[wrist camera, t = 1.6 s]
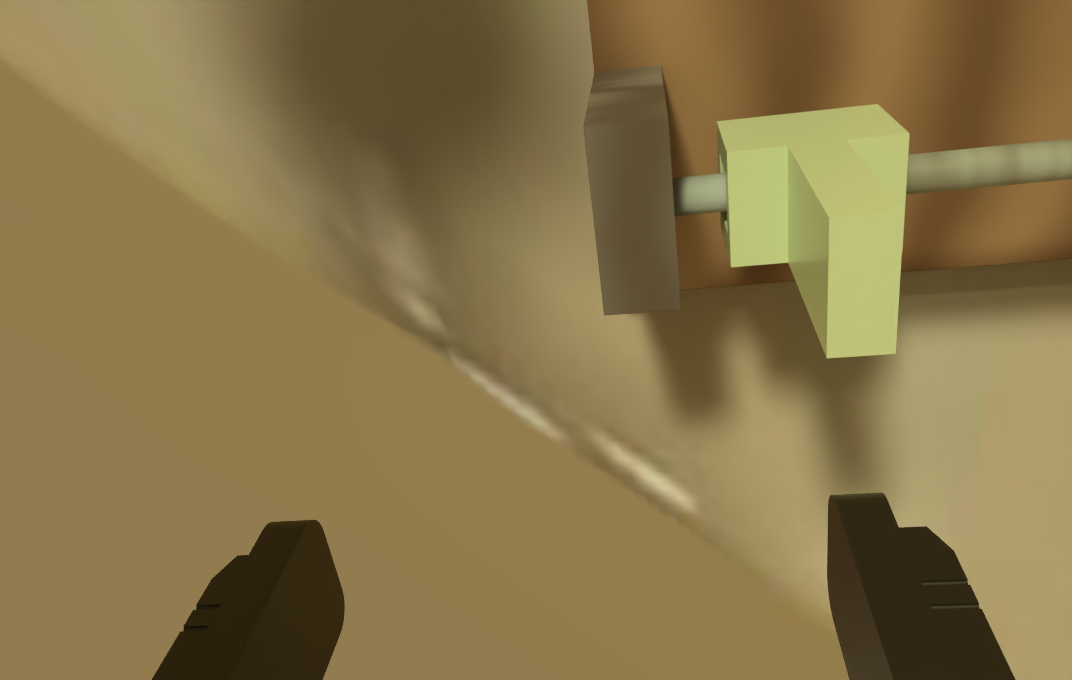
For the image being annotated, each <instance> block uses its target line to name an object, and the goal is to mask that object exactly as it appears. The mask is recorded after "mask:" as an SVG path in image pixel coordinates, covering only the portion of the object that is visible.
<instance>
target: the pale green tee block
mask: <svg viewBox="0 0 1072 680" xmlns="http://www.w3.org/2000/svg"><path fill="white" fill-rule="evenodd" d="M716 122H717V147H718V172H719V173H725V176H726V203H727V211H725V212H720V222H721V230H722V234H723V238H724V242H725V246H726V250H727V254H728V258H729V262H730V266H731V267H741V266H753V265H765V264H777V263H788V264H789V266H790V268H791V271H792V273H793V276H794V278H795V281H796V283H797V286H798V288H799V291H800V293H801V296H802V298H803V301H804V303H805V306H806V308H807V311H808V313H809V316H810V318H811V321H812V323H813V326H814V328H815V331H816V333H817V336H818V338H819V341H820V343H821V346H822V348H823V351H824V353H825V356H826V358H840V357H855V356H870V355H885V354H896V340H897V323H898V307H899V290H900V274H901V257H902V250H903V233H904V217H905V200H906V184H907V167H908V151H909V135H910V133H909V132H908V131H906V130H905V129H904V128H903V127H902V126H901V125H900V124H899V123H898V122H897V121H896V120H895V119H894V118H892V117H891V116H890V115H889V114H888V113H887V112H886V111H885V110H884V109H883V108H882V107H881V106H879V105H878V104H873V105H864V106H854V107H845V108H836V109H827V110H817V111H808V112H799V113H790V114H780V115H771V116H762V117H753V118H743V119H734V120H725V121H716Z"/></svg>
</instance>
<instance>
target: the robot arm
mask: <svg viewBox="0 0 1072 680" xmlns="http://www.w3.org/2000/svg"><path fill="white" fill-rule="evenodd" d="M827 580H828V592H829V600H830V607H831V612H832V617H833V621H834V624H835V628H836V632H837V635H838V639H839V643H840V646H841V650H842V654H843V657H844V661H845V665H846V668H847V672H848V676H849V679H850V680H1015V678H1014V676H1013V674H1012V672H1011V670H1010V667H1009V665H1008V663H1007V661H1006V659H1005V657H1004V655H1003V653H1002V651H1001V649H1000V646H999V644H998V642H997V640H996V638H995V636H994V634H993V632H992V630H991V628H990V626H989V623H988V621H987V619H986V617H985V615H984V613H983V611H982V609H980V608H979V603H978V600H977V598H976V596H975V594H974V592H973V590H972V588H971V586H970V585H968V582H967V577H966V575H965V573H964V571H963V569H962V567H961V565H960V563H959V561H958V559H957V556H956V554H955V552H954V550H952V549H951V548H950V547H949V546H948V545H947V544H946V543H945V542H943V541H942V540H941V539H940V538H939V537H938V536H937V535H935V534H934V533H933V532H932V531H931V530H930V529H929V528H928V527H904V528H899V527H898V525H897V522H896V520H895V517H894V515H893V513H892V510H891V508H890V505H889V503H888V500H887V498H886V496H885V495H884V494H883V493H865V494H845V495H831V496H830V498H829V503H828V557H827ZM196 606H197V608H196V610H193V611H192V613H191V615H190V616H189V618H188V620H187V622H186V623H185V625H184V631H183V632H180V633H179V635H178V637H177V638H176V640H175V642H174V643H173V645H172V647H171V648H170V650H169V652H168V653H167V655H166V657H165V658H164V660H163V662H162V664H161V665H160V667H159V668H158V670H157V672H156V674H155V675H154V677H153V678H152V680H323V677H324V674H325V672H326V669H327V667H328V664H329V662H330V659H331V656H332V654H333V651H334V649H335V646H336V643H337V641H338V638H339V636H340V633H341V630H342V626H343V620H344V595H343V591H342V587H341V584H340V581H339V578H338V575H337V571H336V568H335V565H334V562H333V559H332V556H331V553H330V550H329V546H328V543H327V540H326V537H325V534H324V531H323V528H322V526H321V524H320V523H319V522H318V521H316V520H303V521H281V522H270V523H268V524H267V525H266V526H265V528H264V529H263V531H262V532H261V534H260V536H259V538H258V540H257V542H256V543H255V545H254V547H253V548H252V550H251V552H250V554H249V555H242V556H237V557H236V558H234V559H233V560H232V561H231V562H230V563H229V564H228V565H227V566H226V567H225V568H224V569H222V570H221V571H220V572H219V573H218V574H217V575H216V576H215V577H214V578H213V579H212V580H211V581H210V583H209V585H208V586H207V588H206V590H205V591H204V593H203V595H202V596H201V598H200V600H199V602H198V603H197V605H196Z"/></svg>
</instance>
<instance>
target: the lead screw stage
mask: <svg viewBox="0 0 1072 680" xmlns="http://www.w3.org/2000/svg"><path fill="white" fill-rule="evenodd" d="M587 2H588V12H589V22H590V32H591V42H592V52H593V62H594V72H595V73H594V78H593V83H592V88H591V93H590V98H589V103H588V108H587V113H586V118H585V123H584V136H585V145H586V154H587V163H588V172H589V181H590V191H591V200H592V209H593V218H594V227H595V236H596V245H597V254H598V264H599V273H600V282H601V291H602V300H603V309H604V315H616V314H629V313H642V312H655V311H668V310H681V306H680V291H679V290H686V289H698V288H711V287H723V286H735V285H748V284H760V283H773V282H785V281H795V278H794V276H793V273H792V271H791V268H790V266H789V264H788V263H777V264H765V265H753V266H741V267H731V266H730V262H729V258H728V254H727V250H726V246H725V242H724V238H723V234H722V230H721V222H720V212H725V211H727V203H726V176H725V173H719V172H718V147H717V122H716V121H725V120H734V119H743V118H753V117H762V116H771V115H780V114H790V113H799V112H808V111H817V110H827V109H836V108H845V107H854V106H864V105H873V104H878V105H879V106H881V107H882V108H883V109H884V110H885V111H886V112H887V113H888V114H889V115H890V116H891V117H892V118H894V119H895V120H896V121H897V122H898V123H899V124H900V125H901V126H902V127H903V128H904V129H905V130H906V131H908V132H909V133H910V135H909V151H908V167H907V184H906V200H905V217H904V233H903V250H902V257H901V272H910V271H922V270H934V269H947V268H959V267H972V266H984V265H997V264H1009V263H1022V262H1034V261H1046V260H1059V259H1071V258H1072V0H587Z"/></svg>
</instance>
